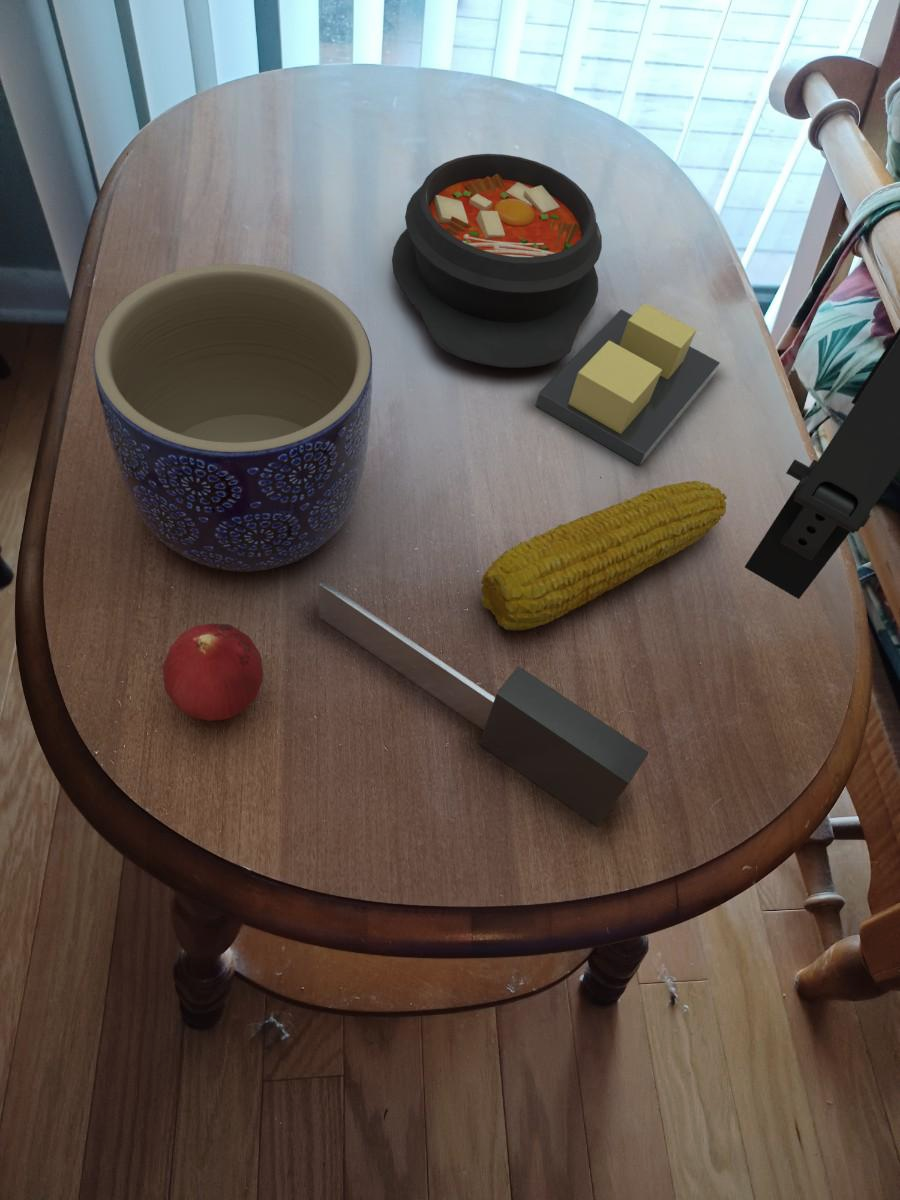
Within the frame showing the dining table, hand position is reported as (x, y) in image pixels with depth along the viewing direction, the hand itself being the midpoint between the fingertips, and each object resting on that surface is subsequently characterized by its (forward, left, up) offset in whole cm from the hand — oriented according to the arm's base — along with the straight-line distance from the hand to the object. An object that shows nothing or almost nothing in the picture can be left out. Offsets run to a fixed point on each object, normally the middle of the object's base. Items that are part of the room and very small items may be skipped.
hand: (829, 488), depth 46 cm
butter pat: (+18, -27, -21) cm, 39 cm away
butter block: (+18, -20, -21) cm, 34 cm away
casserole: (+34, -27, -23) cm, 49 cm away
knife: (+12, +10, -23) cm, 27 cm away
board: (+18, -24, -23) cm, 37 cm away
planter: (+33, +6, -23) cm, 40 cm away
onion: (+24, +19, -23) cm, 38 cm away
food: (+10, -6, -23) cm, 26 cm away
